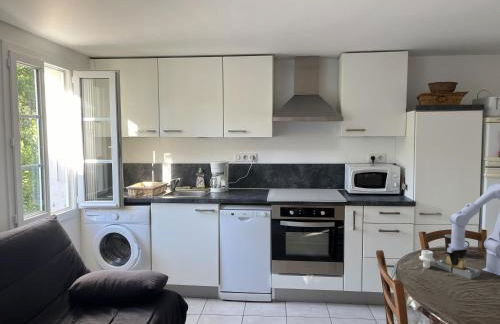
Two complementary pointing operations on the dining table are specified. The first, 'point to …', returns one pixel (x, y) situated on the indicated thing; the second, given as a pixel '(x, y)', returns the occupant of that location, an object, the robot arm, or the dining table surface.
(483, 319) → the dining table surface
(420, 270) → the dining table surface
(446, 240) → the coffee mug
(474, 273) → the grey slotted frame
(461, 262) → the gold bar with studs
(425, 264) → the pipe fitting
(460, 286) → the dining table surface
